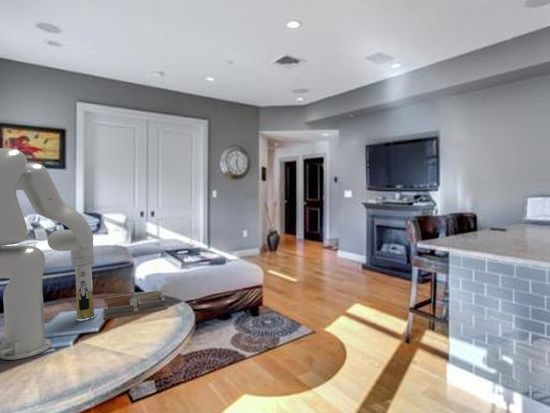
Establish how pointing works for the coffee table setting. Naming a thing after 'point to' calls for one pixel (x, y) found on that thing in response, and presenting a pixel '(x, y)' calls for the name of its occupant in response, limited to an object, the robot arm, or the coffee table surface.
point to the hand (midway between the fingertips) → (84, 306)
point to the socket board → (125, 306)
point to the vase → (89, 312)
